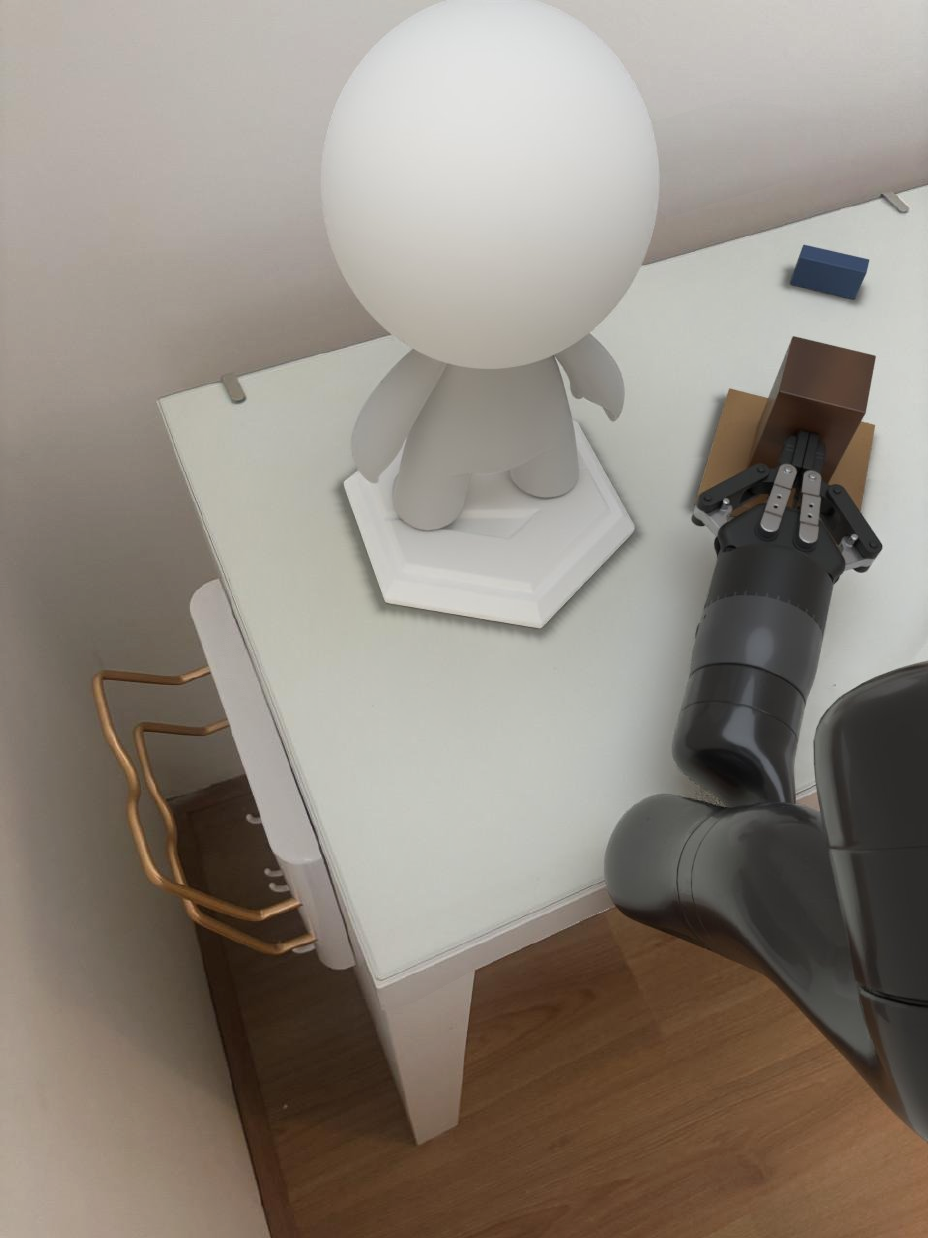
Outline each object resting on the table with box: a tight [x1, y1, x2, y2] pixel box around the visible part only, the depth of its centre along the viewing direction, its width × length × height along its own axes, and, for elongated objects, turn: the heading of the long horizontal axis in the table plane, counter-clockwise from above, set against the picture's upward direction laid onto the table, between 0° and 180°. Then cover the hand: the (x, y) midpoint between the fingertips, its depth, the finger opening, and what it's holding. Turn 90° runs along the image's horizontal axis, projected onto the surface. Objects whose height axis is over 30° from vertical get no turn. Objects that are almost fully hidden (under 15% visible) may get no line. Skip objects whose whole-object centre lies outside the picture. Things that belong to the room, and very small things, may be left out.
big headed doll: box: [320, 0, 661, 629], centre depth 57 cm, size 20×23×35 cm
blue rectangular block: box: [789, 244, 870, 300], centre depth 84 cm, size 6×2×3 cm, turn 69°
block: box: [694, 335, 877, 543], centre depth 69 cm, size 12×12×10 cm
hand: (805, 440), depth 67 cm, fingers closed
